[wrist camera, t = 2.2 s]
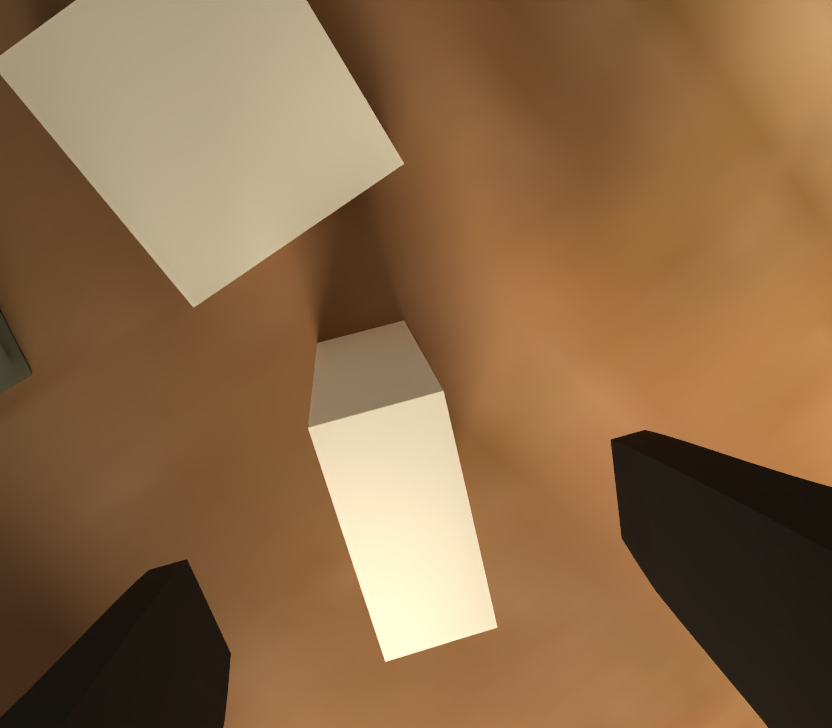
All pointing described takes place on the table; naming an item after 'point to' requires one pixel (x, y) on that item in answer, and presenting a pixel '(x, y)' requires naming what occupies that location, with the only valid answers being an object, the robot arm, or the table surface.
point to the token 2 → (398, 489)
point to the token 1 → (203, 124)
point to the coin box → (10, 359)
